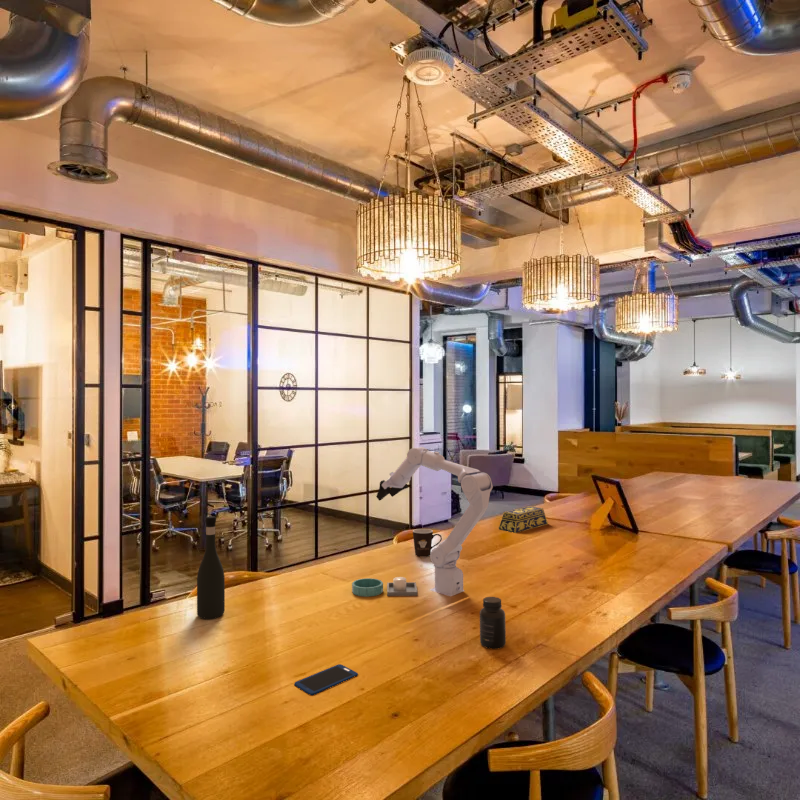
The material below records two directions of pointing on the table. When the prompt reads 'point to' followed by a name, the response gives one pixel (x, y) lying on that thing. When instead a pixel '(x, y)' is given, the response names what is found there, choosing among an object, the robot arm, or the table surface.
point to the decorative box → (522, 519)
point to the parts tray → (410, 591)
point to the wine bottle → (210, 578)
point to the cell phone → (325, 679)
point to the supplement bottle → (492, 624)
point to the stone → (399, 584)
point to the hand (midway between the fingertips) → (384, 496)
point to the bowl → (367, 587)
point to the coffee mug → (423, 541)
